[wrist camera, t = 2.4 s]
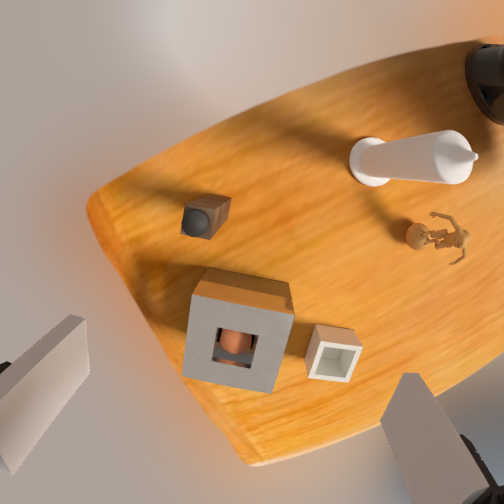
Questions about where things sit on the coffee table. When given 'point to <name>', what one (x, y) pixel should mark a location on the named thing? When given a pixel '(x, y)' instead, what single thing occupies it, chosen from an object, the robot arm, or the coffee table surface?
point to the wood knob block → (205, 216)
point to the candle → (413, 159)
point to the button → (235, 341)
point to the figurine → (438, 237)
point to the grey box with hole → (238, 329)
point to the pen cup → (332, 353)
